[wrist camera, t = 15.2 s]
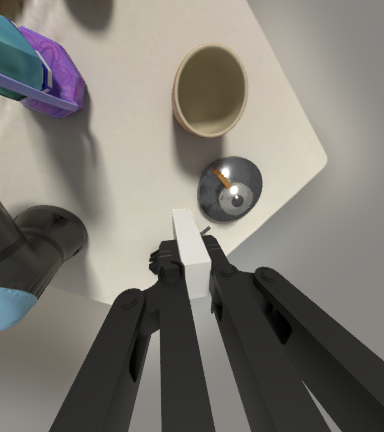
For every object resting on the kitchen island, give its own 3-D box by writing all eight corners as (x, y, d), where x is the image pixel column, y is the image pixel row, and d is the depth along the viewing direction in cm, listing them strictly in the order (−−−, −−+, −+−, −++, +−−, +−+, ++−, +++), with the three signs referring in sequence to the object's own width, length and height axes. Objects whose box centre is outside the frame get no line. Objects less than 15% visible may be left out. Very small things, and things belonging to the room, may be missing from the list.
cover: (235, 209, 47) (244, 218, 43) (210, 202, 45) (217, 212, 40) (248, 183, 44) (259, 190, 39) (222, 175, 41) (231, 181, 37)
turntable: (222, 228, 52) (231, 241, 46) (184, 190, 44) (188, 200, 38) (268, 189, 49) (284, 198, 42) (236, 140, 40) (251, 142, 34)
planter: (232, 119, 38) (256, 116, 29) (185, 145, 39) (194, 151, 30) (212, 54, 32) (235, 22, 23) (157, 86, 33) (158, 69, 23)
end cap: (184, 260, 56) (187, 276, 50) (166, 271, 57) (167, 287, 51) (167, 242, 51) (168, 257, 45) (148, 253, 52) (147, 269, 46)
